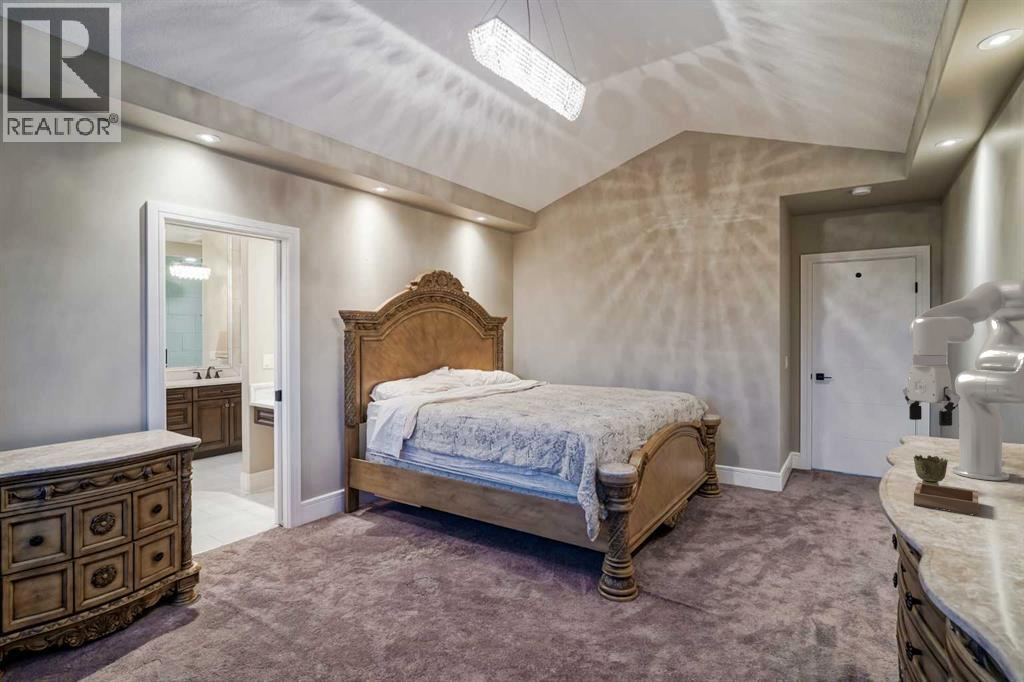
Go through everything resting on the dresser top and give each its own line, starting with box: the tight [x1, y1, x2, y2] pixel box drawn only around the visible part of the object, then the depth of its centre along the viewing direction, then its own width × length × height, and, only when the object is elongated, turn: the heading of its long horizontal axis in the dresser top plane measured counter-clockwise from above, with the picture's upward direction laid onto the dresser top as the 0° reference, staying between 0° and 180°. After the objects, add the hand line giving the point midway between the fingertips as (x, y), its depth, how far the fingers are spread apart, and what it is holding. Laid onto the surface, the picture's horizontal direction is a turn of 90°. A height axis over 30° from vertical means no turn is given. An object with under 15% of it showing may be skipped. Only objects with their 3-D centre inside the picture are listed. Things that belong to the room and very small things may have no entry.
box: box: [913, 482, 979, 516], centre depth 129 cm, size 12×12×3 cm
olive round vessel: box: [913, 454, 949, 486], centre depth 144 cm, size 8×7×8 cm
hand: (930, 422), depth 144 cm, fingers open, 9 cm apart
